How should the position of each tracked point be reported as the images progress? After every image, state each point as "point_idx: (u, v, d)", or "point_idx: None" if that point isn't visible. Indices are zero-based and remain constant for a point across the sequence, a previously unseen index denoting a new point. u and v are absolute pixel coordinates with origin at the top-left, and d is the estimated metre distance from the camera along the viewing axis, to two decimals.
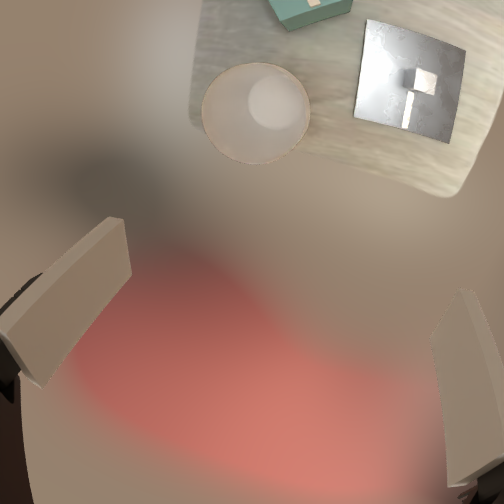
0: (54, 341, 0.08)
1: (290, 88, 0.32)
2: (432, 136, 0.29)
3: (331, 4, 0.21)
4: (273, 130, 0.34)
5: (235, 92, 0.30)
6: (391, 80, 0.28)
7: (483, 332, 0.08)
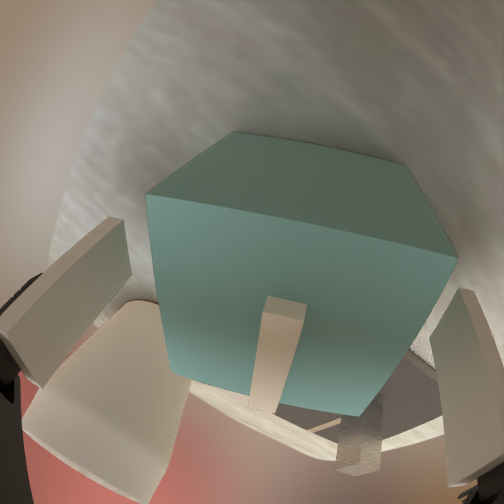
0: (54, 341, 0.08)
1: None
2: (338, 442, 0.24)
3: None
4: None
5: (89, 338, 0.17)
6: None
7: (483, 332, 0.08)
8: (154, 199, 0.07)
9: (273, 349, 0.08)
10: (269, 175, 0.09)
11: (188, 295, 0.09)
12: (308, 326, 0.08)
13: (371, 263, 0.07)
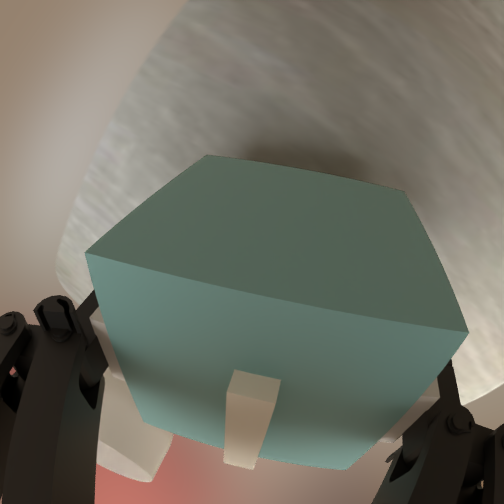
0: None
1: None
2: None
3: None
4: None
5: None
6: None
7: None
8: (95, 258, 0.06)
9: (243, 423, 0.06)
10: (237, 218, 0.07)
11: (147, 359, 0.07)
12: (284, 399, 0.07)
13: (359, 342, 0.05)
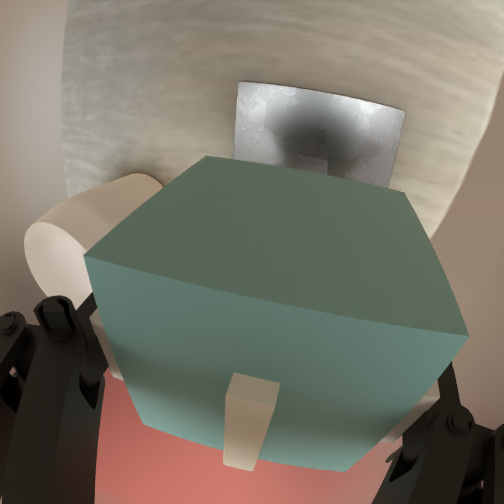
0: None
1: None
2: None
3: None
4: None
5: None
6: None
7: None
8: (93, 261, 0.06)
9: (242, 426, 0.06)
10: (237, 221, 0.07)
11: (146, 362, 0.07)
12: (283, 402, 0.06)
13: (359, 346, 0.05)
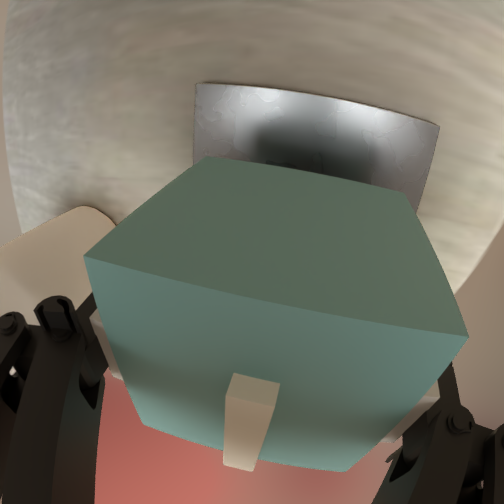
0: None
1: None
2: None
3: None
4: None
5: None
6: None
7: None
8: (93, 262, 0.06)
9: (242, 426, 0.06)
10: (237, 221, 0.07)
11: (146, 362, 0.07)
12: (283, 402, 0.06)
13: (359, 347, 0.05)
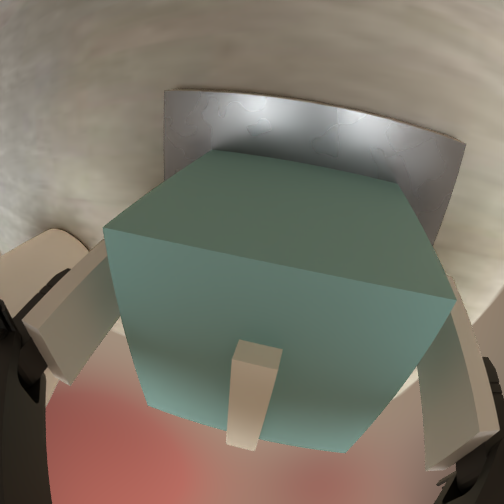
0: (83, 336, 0.09)
1: None
2: None
3: None
4: None
5: None
6: None
7: (459, 315, 0.08)
8: (112, 233, 0.06)
9: (246, 394, 0.07)
10: (243, 202, 0.08)
11: (155, 334, 0.08)
12: (285, 370, 0.07)
13: (355, 308, 0.06)
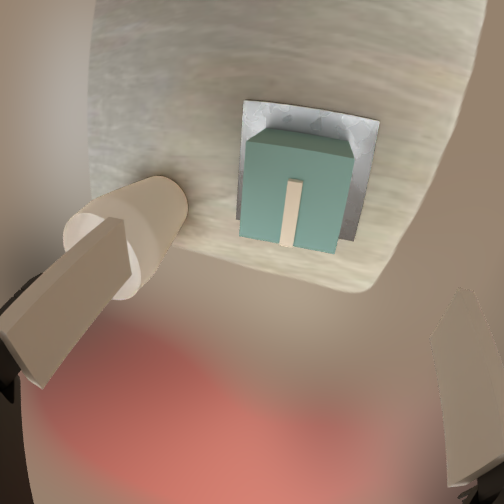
0: (54, 341, 0.08)
1: None
2: None
3: None
4: None
5: None
6: None
7: (483, 332, 0.08)
8: (249, 143, 0.20)
9: (291, 199, 0.21)
10: (287, 140, 0.22)
11: (257, 182, 0.22)
12: (304, 191, 0.21)
13: (323, 162, 0.20)
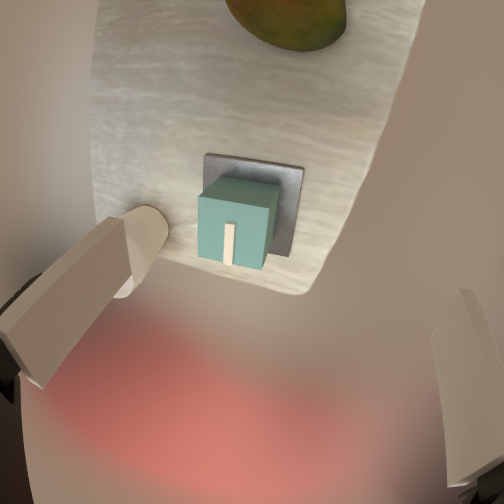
0: (54, 341, 0.08)
1: None
2: (271, 252, 0.41)
3: None
4: None
5: None
6: None
7: (483, 332, 0.08)
8: (200, 197, 0.32)
9: (228, 235, 0.32)
10: (228, 192, 0.33)
11: (207, 222, 0.33)
12: (237, 229, 0.32)
13: (248, 210, 0.31)
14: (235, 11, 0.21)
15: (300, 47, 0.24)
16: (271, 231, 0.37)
